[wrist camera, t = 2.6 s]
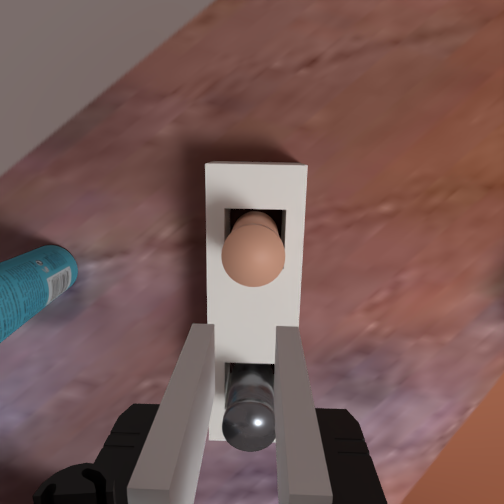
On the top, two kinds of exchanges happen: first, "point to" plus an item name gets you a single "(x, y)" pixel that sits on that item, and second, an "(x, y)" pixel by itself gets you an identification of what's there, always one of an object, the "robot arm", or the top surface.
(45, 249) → the tube
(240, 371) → the plunger graphite
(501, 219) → the top surface
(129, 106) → the top surface
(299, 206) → the block
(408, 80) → the top surface
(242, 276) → the tan rounded peg
